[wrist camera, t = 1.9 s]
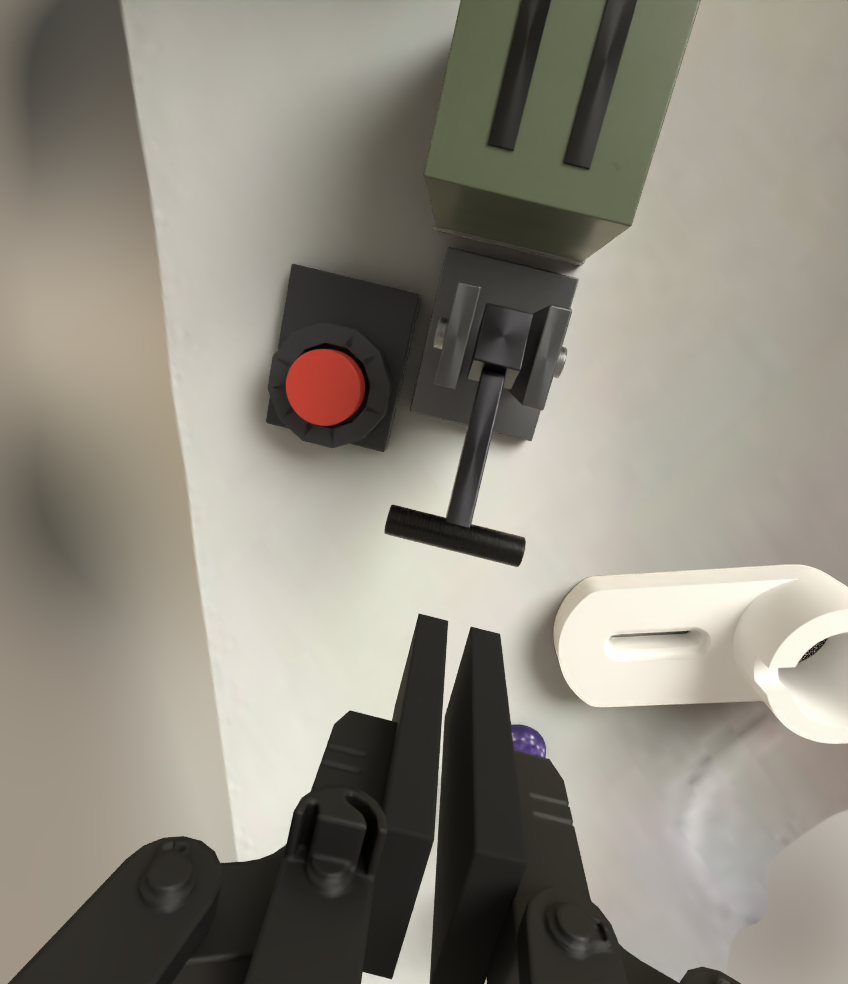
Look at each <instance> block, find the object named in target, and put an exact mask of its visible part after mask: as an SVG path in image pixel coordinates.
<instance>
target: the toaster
mask: <svg viewBox="0 0 848 984" xmlns="http://www.w3.org/2000/svg"><path fill="white" fill-rule="evenodd" d="M700 1H701V0H461V2H460V6H459V11H458V16H457V20H456V25H455V30H454V34H453V39H452V44H451V48H450V53H449V58H448V62H447V67H446V72H445V76H444V81H443V86H442V91H441V95H440V100H439V105H438V109H437V114H436V119H435V123H434V128H433V133H432V137H431V142H430V147H429V151H428V156H427V161H426V165H425V170H424V179H425V183H426V187H427V191H428V195H429V199H430V203H431V207H432V211H433V215H434V219H435V223H434V229H435V230H437V231H441V232H445V233H449V234H454V235H458V236H462V237H466V238H470V239H474V240H478V241H482V242H486V243H490V244H494V245H498V246H503V247H507V248H511V249H515V250H519V251H523V252H527V253H531V254H535V255H539V256H543V257H548V258H552V259H556V260H560V261H564V262H568V263H572V264H576V265H580V266H581V265H583V264H584V262H585V259H587V258H588V257H589V256H591V255H592V254H594V253H595V252H596V251H598V250H599V249H600V248H602V247H603V246H604V245H606V244H607V243H609V242H610V241H611V240H613V239H614V238H615V237H617V236H618V235H620V234H621V233H622V232H624V231H625V230H626V229H628V228H629V227H630V226H631V225H632V222H633V219H634V216H635V213H636V209H637V206H638V203H639V200H640V196H641V193H642V190H643V186H644V183H645V180H646V177H647V173H648V170H649V167H650V164H651V160H652V157H653V154H654V151H655V147H656V144H657V141H658V138H659V134H660V131H661V128H662V125H663V121H664V118H665V115H666V112H667V108H668V105H669V102H670V99H671V95H672V92H673V89H674V86H675V82H676V79H677V76H678V73H679V69H680V66H681V63H682V60H683V56H684V53H685V50H686V47H687V43H688V40H689V37H690V34H691V30H692V27H693V24H694V21H695V17H696V14H697V11H698V8H699V4H700Z"/></svg>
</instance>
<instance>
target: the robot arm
mask: <svg viewBox="0 0 848 984" xmlns="http://www.w3.org/2000/svg"><path fill="white" fill-rule="evenodd" d="M447 630H448V621H446V620H442V619H438V618H434V617H430V616H426V615H422V614H419V615H418V619H417V623H416V627H415V631H414V635H413V638H412V642H411V646H410V650H409V654H408V658H407V662H406V665H405V669H404V673H403V677H402V681H401V685H400V689H399V692H398V696H397V700H396V704H395V709H394V714H393V719H392V721H389V720H385V719H382V718H378V717H374V716H370V715H366V714H362V713H358V712H354V711H349V712H348V713H346V714H345V715H344V716H343V717H342V718H341V719H340V720H339V721H337V722H336V723H335V724H334V726H333V729H332V732H331V735H330V738H329V741H328V743H327V747H326V749H325V752H324V755H323V758H322V761H321V764H320V766H319V769H318V772H317V775H316V778H315V781H314V784H313V787H312V789H311V792H310V793H308V794H307V795H305V796H304V797H302V799H301V800H300V802H299V803H298V805H297V807H296V808H295V810H294V813H293V817H292V822H291V826H290V831H289V836H288V840H287V844H286V845H285V846H284V847H282V848H281V849H279V850H278V851H277V852H275V853H274V854H271V855H269V856H266V857H264V858H261V859H257V860H251V861H246V862H231V863H220V862H219V860H218V858H217V856H216V853H215V851H213V850H212V849H211V848H209V847H208V846H207V845H206V844H205V843H203V842H202V841H199V840H196V839H192V838H188V837H184V836H182V837H168V838H162V839H159V840H157V841H154V842H152V843H149V844H147V845H144V846H143V847H141V848H140V849H139V850H137V851H136V852H135V853H134V854H132V855H131V856H130V857H128V858H127V859H126V860H125V861H124V862H123V863H122V864H121V865H120V866H119V867H118V868H117V870H116V871H115V872H114V873H113V874H112V875H111V876H110V877H109V878H108V879H107V880H106V881H105V882H104V883H103V884H102V885H101V886H100V887H99V889H97V891H96V892H95V893H94V894H93V895H92V896H91V897H90V898H89V899H88V900H87V901H86V902H85V903H84V904H83V905H82V906H81V907H80V908H79V909H78V910H77V912H76V913H75V914H74V915H73V916H72V917H71V918H70V919H69V920H68V921H67V922H66V923H65V924H64V925H63V926H62V927H61V928H60V930H58V932H57V933H56V934H55V935H54V936H53V937H52V938H51V939H50V940H49V941H48V942H47V943H46V944H45V945H44V946H43V947H42V948H41V949H40V950H39V952H38V953H37V954H36V955H35V956H34V957H33V958H32V959H31V960H30V961H29V962H28V963H27V964H26V965H25V966H24V967H23V968H22V969H21V970H20V971H19V973H18V974H17V975H16V976H15V977H14V978H13V979H12V980H11V981H10V982H9V983H8V984H361V979H362V972H366V973H370V974H373V975H377V976H381V977H385V978H389V979H392V977H393V974H394V970H395V967H396V964H397V961H398V957H399V954H400V951H401V947H402V944H403V941H404V937H405V934H406V931H407V927H408V924H409V921H410V918H411V914H412V911H413V908H414V904H415V901H416V898H417V894H418V891H419V888H420V884H421V881H422V878H423V875H424V871H425V868H426V865H427V861H428V858H429V855H430V851H431V848H432V845H433V841H434V832H435V817H436V801H437V786H438V770H439V754H440V739H441V723H442V708H443V692H444V677H445V661H446V646H447ZM568 804H569V802H568V798H567V793H566V789H565V784H564V780H563V779H562V777H561V776H560V774H559V773H558V771H557V770H556V768H555V767H554V765H553V764H552V762H551V761H550V759H547V758H543V757H539V756H535V755H531V754H527V753H523V752H519V751H515V750H514V746H513V738H512V730H511V721H510V713H509V705H508V696H507V688H506V680H505V671H504V663H503V654H502V646H501V638H500V634H498V633H494V632H490V631H486V630H482V629H478V628H474V627H471V628H470V631H469V635H468V638H467V642H466V645H465V649H464V652H463V656H462V659H461V663H460V666H459V670H458V673H457V676H456V680H455V683H454V687H453V690H452V694H451V697H450V701H449V704H448V708H447V711H446V715H445V722H444V740H443V758H442V775H441V793H440V811H439V829H438V846H437V864H436V882H435V899H434V917H433V935H432V952H431V970H430V984H484V983H485V980H486V977H487V984H741V983H739V982H737V981H736V980H734V979H733V978H731V977H729V976H727V975H726V974H724V973H722V972H721V971H717V970H713V969H709V968H705V967H699V968H695V969H691V970H688V971H687V973H686V974H685V975H684V977H683V978H682V980H681V981H680V983H678V982H676V981H675V980H673V979H671V978H670V977H668V976H666V975H664V974H663V973H661V972H659V971H658V970H656V969H654V968H652V967H651V966H649V965H647V964H646V963H644V962H642V961H640V960H639V959H638V958H636V957H635V956H633V955H632V954H630V953H629V952H627V951H626V950H625V949H624V948H623V947H622V946H621V945H620V944H619V943H618V941H617V938H616V935H615V933H614V930H613V928H612V925H611V924H610V922H609V921H608V920H607V918H606V917H605V916H604V914H603V913H602V912H601V910H600V909H599V908H598V907H597V906H596V905H595V904H594V903H592V902H591V899H590V895H589V891H588V886H587V882H586V877H585V873H584V869H583V864H582V860H581V855H580V851H579V846H578V842H577V838H576V833H575V829H574V826H572V823H573V820H572V815H571V811H570V807H568Z"/></svg>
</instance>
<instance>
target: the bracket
mask: <svg viewBox="0 0 848 984" xmlns="http://www.w3.org/2000/svg"><path fill="white" fill-rule="evenodd" d="M673 631H690V632H688V633H686V634H669V635H649V636H630V637H611V636H613V635H616V634H634V633H654V632H673ZM826 638H828V639H827V641H826V642H825V644H824V645H823V646H822V647H821V648H820V649H819V650H818V651H817V652H816V653H815V654H814V655H812V656H811V657H809V658H807V659H805V660H803V661H801V662H799V660H800V659H801V658H802V656H803V655H804V654H805V653H806V652H807V651H808V650H809V649H810V648H811V647H813V646H814V645H815V644H817V643H818V642H820V641H822V640H824V639H826ZM553 639H554V646H555V650H556V654H557V657H558V660H559V664H560V667H561V670H562V673H563V676H564V678H565V680H566V682H567V683H568V685H569V686H570V688H571V689H572V690H573V692H574V693H575V694H576V695H577V696H578V697H579V698H580V699H581V700H583V701H584V702H585V703H587V704H588V705H590V706H593V707H621V706H646V705H671V704H696V703H722V702H747V701H764V702H765V704H766V705H767V706H768V707H769V708H770V710H771V711H772V712H773V713H774V714H775V716H776V717H777V718H778V719H779V720H780V721H781V722H782V723H783V724H784V725H785V726H786V727H787V728H788V729H790V730H791V731H793V732H794V733H796V734H798V735H800V736H802V737H804V738H807V739H809V740H813V741H817V742H822V743H831V744H840V743H848V587H847V586H845V585H844V584H842V583H840V582H839V581H837V580H836V579H834V578H833V577H831V576H829V575H828V574H826V573H824V572H822V571H821V570H818V569H816V568H813V567H809V566H805V565H797V564H790V565H773V566H757V567H740V568H724V569H707V570H691V571H674V572H658V573H641V574H624V575H608V576H593V577H588V578H586V579H584V580H582V581H581V582H580V583H579V584H577V585H576V586H575V587H574V588H573V589H572V590H571V591H570V592H569V594H568V595H567V596H566V597H565V599H564V600H563V602H562V604H561V606H560V608H559V610H558V612H557V615H556V618H555V622H554V630H553Z"/></svg>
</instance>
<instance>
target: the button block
mask: <svg viewBox="0 0 848 984" xmlns="http://www.w3.org/2000/svg"><path fill="white" fill-rule="evenodd" d="M420 298H421V297H420V295H418V294H415V293H411V292H407V291H403V290H399V289H395V288H391V287H386V286H382V285H378V284H374V283H370V282H366V281H362V280H358V279H354V278H350V277H346V276H342V275H338V274H334V273H329V272H325V271H321V270H317V269H313V268H309V267H305V266H301V265H297V264H292V267H291V273H290V279H289V285H288V291H287V297H286V303H285V309H284V315H283V321H282V327H281V333H280V339H279V346H278V351H277V352H276V353H275V354H274V356H273V359H272V365H271V371H270V377H269V384H268V390H269V393H270V400H269V406H268V412H267V418H266V423H269V424H273V425H277V426H281V427H285V428H289V429H290V430H292V431H293V432H294V433H295V434H296V435H297V436H298V437H299V438H300V439H301V440H303V441H306V442H310V443H314V444H318V445H322V446H326V447H330V448H335V447H338V446H342V445H345V444H353V445H357V446H361V447H365V448H369V449H373V450H377V451H382V452H384V451H385V450H386V449H387V445H388V441H389V437H390V432H391V428H392V423H393V419H394V414H395V410H396V405H397V401H398V396H399V392H400V387H401V383H402V378H403V374H404V369H405V365H406V361H407V356H408V352H409V347H410V343H411V338H412V334H413V329H414V325H415V320H416V316H417V311H418V307H419V302H420ZM317 349H333V350H338V351H341V352H343V353H345V354H347V355H348V356H350V357H351V358H352V359H353V360H354V361H355V362H356V363H357V364H358V366H359V367H360V369H361V371H362V373H363V376H364V380H365V395H364V398H363V401H362V403H361V405H360V407H359V408H358V410H357V411H356V412H355V413H354V414H353V415H351V416H350V417H349V418H347V419H345V420H344V421H342V422H340V423H337V424H335V425H330V426H320V425H315V424H312V423H310V422H308V421H306V420H304V419H303V418H301V417H300V416H299V415H298V414H297V413H296V412H295V411H294V409H293V408H292V406H291V404H290V402H289V400H288V397H287V393H286V378H287V374H288V372H289V369H290V367H291V366H292V364H293V363H294V361H295V360H296V359H297V358H298V357H300V356H301V355H303V354H304V353H306V352H309V351H312V350H317Z"/></svg>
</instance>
